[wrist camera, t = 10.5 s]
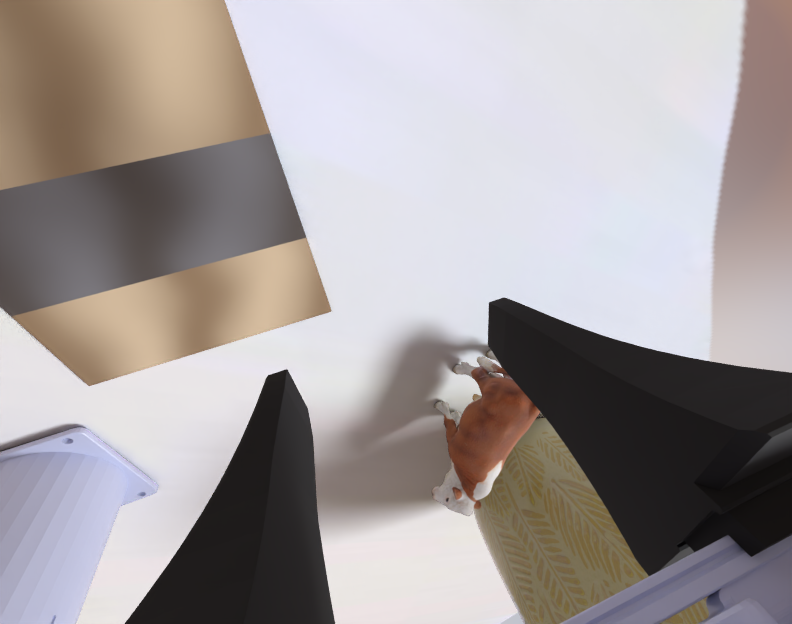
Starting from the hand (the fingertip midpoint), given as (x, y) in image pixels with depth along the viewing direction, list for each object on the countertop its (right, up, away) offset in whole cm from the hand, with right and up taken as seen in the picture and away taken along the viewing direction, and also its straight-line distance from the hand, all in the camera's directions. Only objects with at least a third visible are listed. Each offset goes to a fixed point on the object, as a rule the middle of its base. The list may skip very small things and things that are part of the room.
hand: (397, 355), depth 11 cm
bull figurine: (+5, -6, +18) cm, 20 cm away
